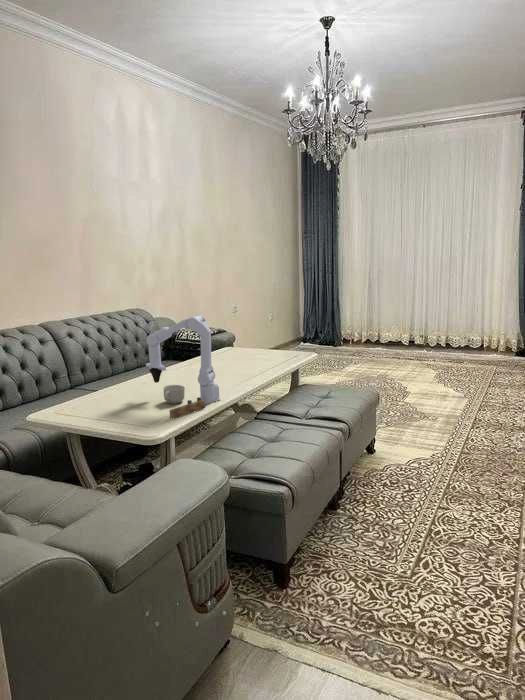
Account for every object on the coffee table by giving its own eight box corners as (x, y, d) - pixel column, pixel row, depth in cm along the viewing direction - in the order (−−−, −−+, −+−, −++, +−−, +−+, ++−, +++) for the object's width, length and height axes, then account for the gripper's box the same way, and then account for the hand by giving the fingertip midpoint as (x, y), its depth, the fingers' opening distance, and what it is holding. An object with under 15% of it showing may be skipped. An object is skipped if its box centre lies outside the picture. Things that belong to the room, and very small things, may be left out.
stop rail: (199, 406, 267) (199, 397, 266) (205, 408, 264) (204, 398, 263) (167, 417, 252) (166, 407, 251) (172, 419, 250) (172, 408, 249)
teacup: (173, 398, 283) (172, 383, 282) (189, 400, 278) (189, 385, 276) (155, 405, 272) (154, 390, 270) (172, 408, 266) (171, 392, 264)
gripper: (140, 356, 280) (142, 381, 283) (157, 360, 271) (159, 386, 273) (151, 353, 285) (153, 378, 288) (168, 357, 276) (170, 383, 278)
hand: (156, 382), depth 281 cm, fingers closed
